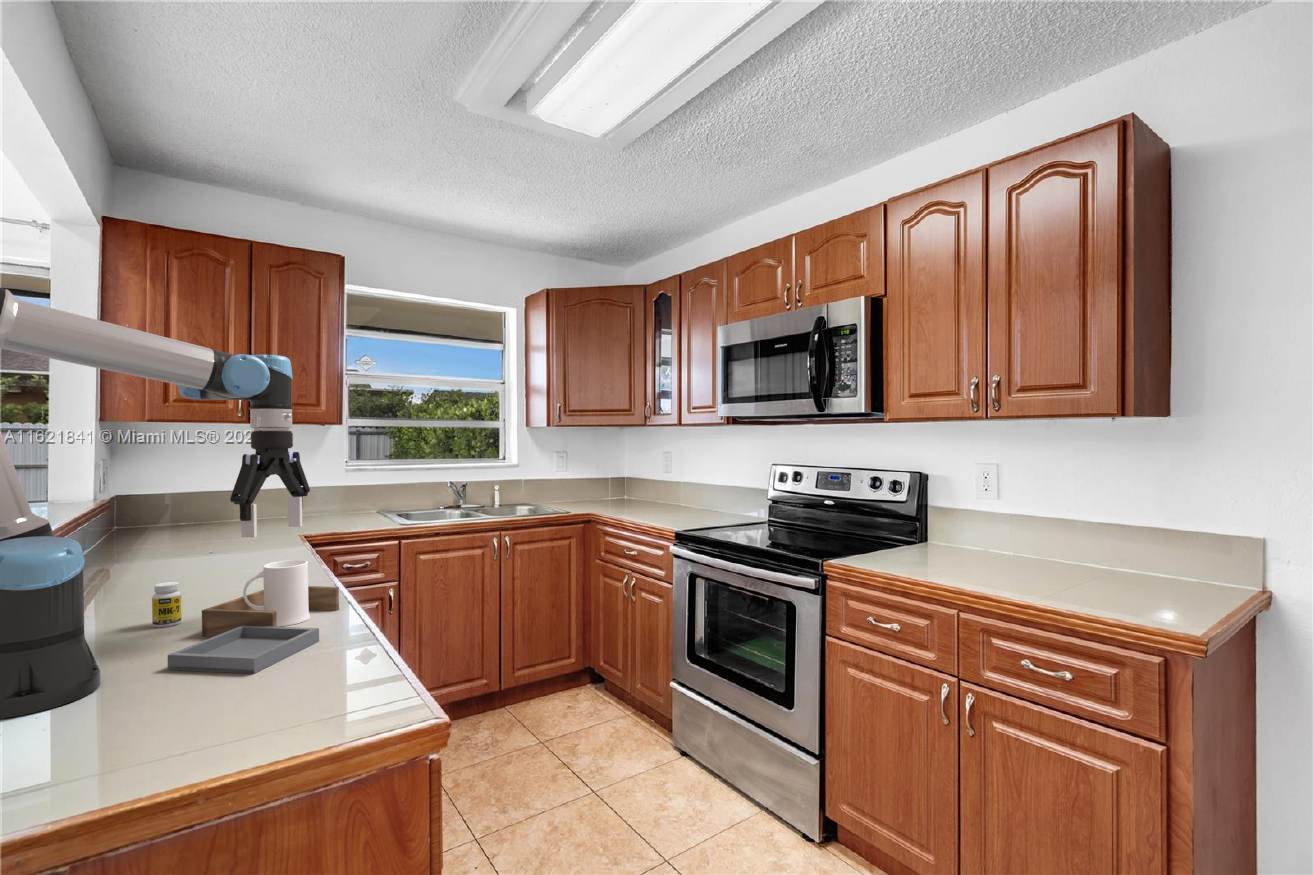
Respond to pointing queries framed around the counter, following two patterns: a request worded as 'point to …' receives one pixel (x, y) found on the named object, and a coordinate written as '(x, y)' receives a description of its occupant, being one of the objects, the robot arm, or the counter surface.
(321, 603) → the bay
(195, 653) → the tray
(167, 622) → the supplement bottle
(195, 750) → the counter surface
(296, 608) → the mug
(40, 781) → the counter surface
